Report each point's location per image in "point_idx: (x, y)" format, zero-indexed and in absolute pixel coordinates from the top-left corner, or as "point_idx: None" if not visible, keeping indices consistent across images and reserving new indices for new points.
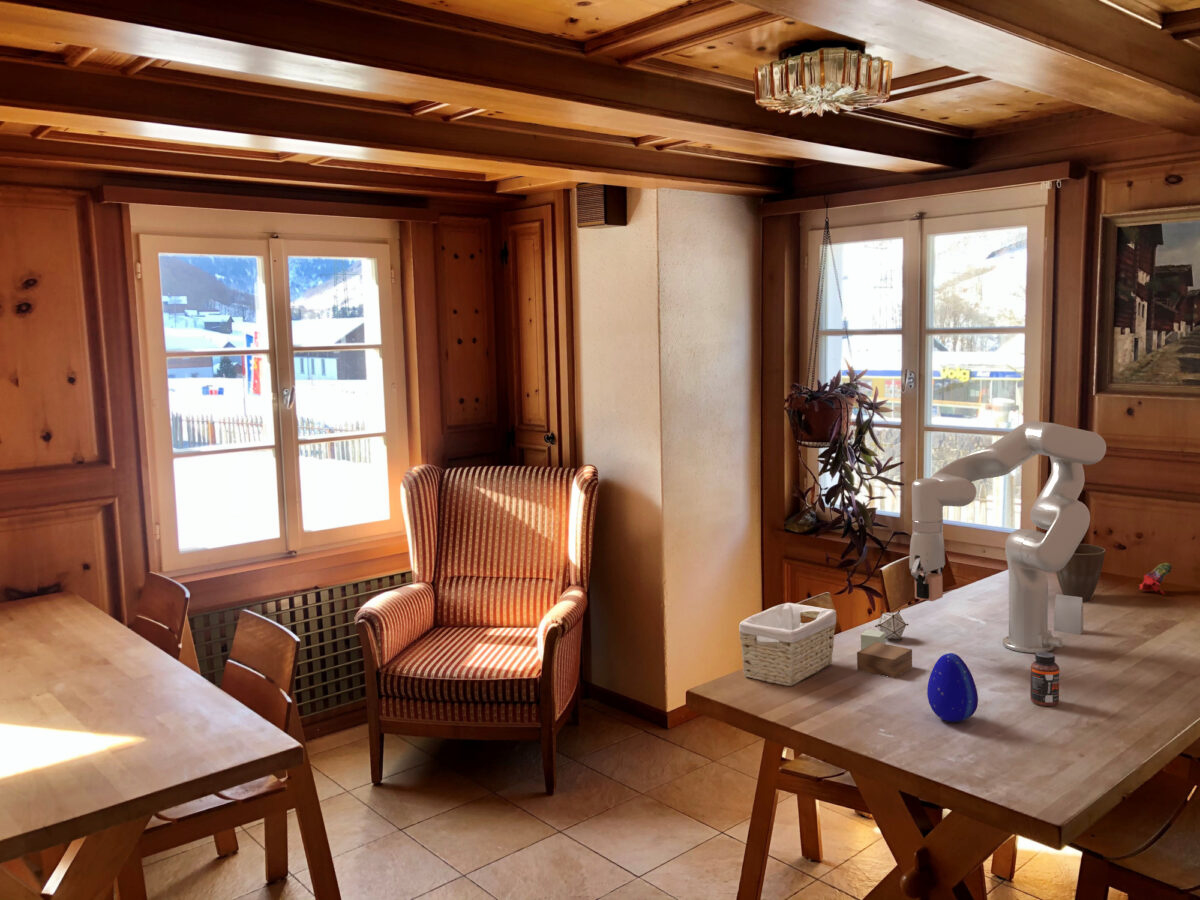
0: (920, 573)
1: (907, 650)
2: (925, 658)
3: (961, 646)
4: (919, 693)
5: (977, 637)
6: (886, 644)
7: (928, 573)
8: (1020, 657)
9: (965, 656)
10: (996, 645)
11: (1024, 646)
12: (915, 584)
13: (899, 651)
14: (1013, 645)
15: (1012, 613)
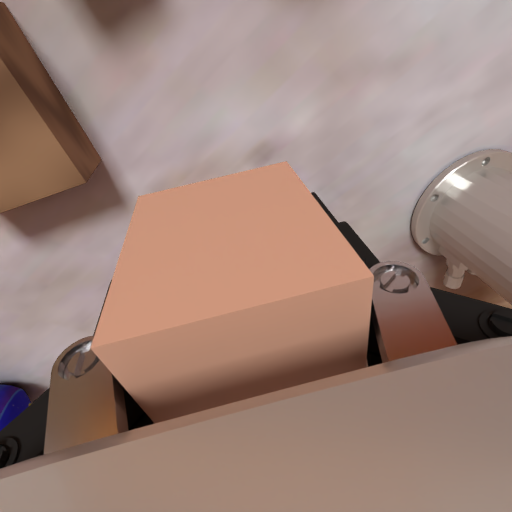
0: (249, 312)
1: (60, 183)
2: (197, 122)
3: (375, 104)
4: (6, 301)
5: (487, 69)
6: (4, 68)
7: (320, 347)
8: (377, 245)
9: (302, 177)
10: (435, 159)
11: (430, 229)
12: (122, 271)
13: (20, 175)
14: (426, 211)
15: (505, 245)
